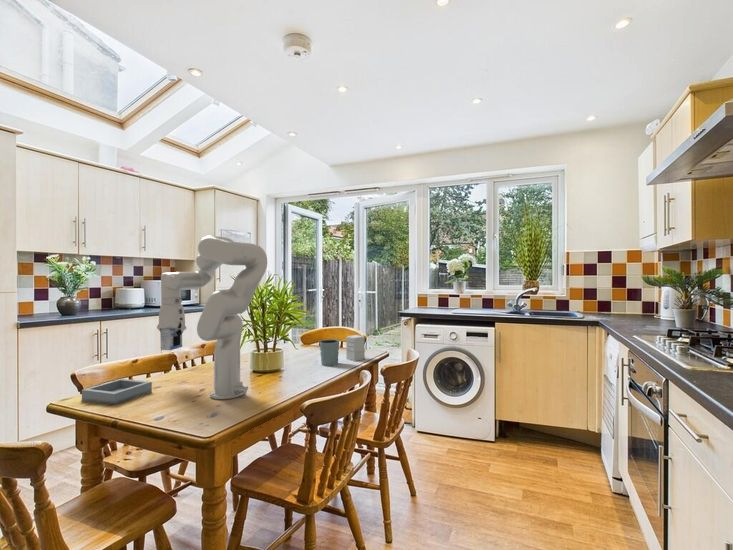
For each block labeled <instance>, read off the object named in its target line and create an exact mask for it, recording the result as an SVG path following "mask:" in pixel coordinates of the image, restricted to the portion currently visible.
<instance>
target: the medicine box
mask: <svg viewBox="0 0 733 550" xmlns="http://www.w3.org/2000/svg"><path fill="white" fill-rule="evenodd" d="M159 332H160V350H161V351H172V350H177V349H179V348H180V349H181V348H183V334H182V335H181V336H180V345H178V346H174V345H173V336H175V335H174V331H173V329H162V330H159ZM177 332H178V330H177Z"/></svg>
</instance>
